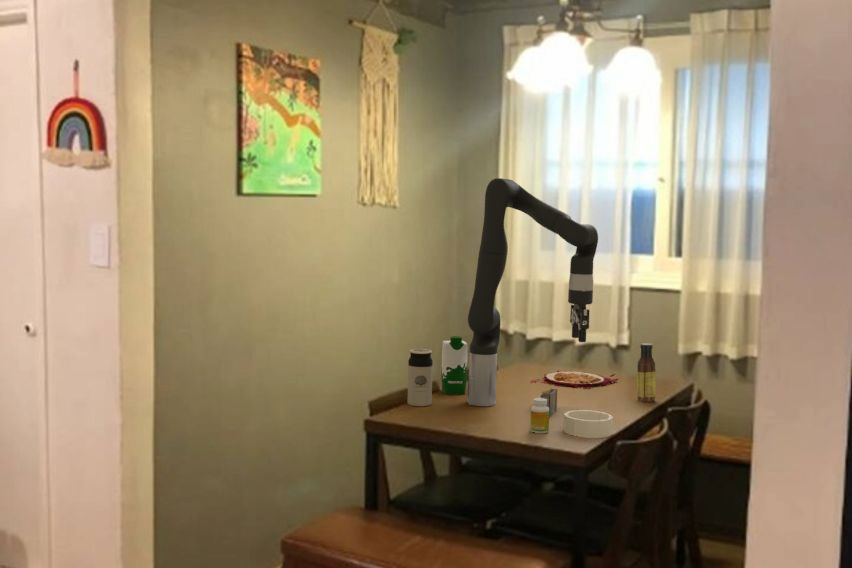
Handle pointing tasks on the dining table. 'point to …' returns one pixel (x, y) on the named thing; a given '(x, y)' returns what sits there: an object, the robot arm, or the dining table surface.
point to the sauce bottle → (646, 374)
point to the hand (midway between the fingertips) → (578, 339)
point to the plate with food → (576, 379)
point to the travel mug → (420, 377)
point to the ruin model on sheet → (550, 400)
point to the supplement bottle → (539, 416)
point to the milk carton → (454, 366)
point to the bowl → (588, 424)
